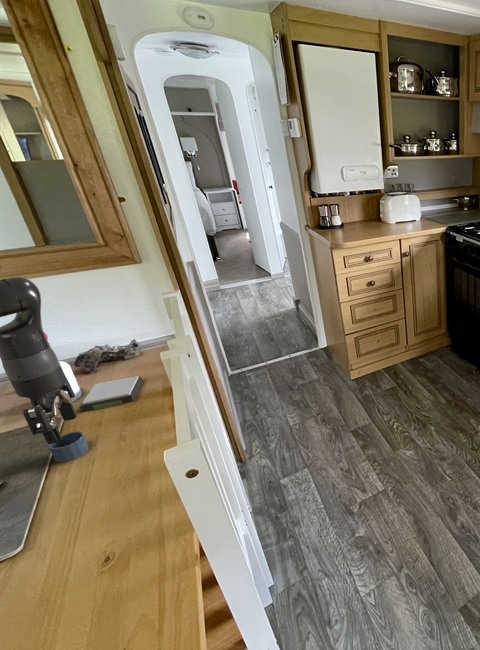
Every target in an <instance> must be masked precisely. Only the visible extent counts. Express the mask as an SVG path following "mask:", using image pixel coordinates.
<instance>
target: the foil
mask: <svg viewBox="0 0 480 650" xmlns="http://www.w3.org/2000/svg"><path fill="white" fill-rule="evenodd" d="M140 345H141V344H140V342H138V341H137V340H136V339H135V338H133V339H132V340H131V341H130V343H129V344H128V345H125V346H124V345H119V344H114V345H113V346H110V345H109V344H108V343H107V342H106V343H105V344H104V345H95V346H94V347H93V348H89V349H87V350H86V351H83V352H79V353H78V355H77V356H76V358H75V361H74V363H73V364H74V368H84V369H85V371H84V373H85V374H86V372H90V374H94V373H96V368H97V366H98V365H99V362H101V361H103V362H104V361H105V362H107V361H109V360H112V359H115V358H117V357H118V355H120V354H123V356H124V357H123V358H124V360H128V359H134V358H137V357H140V356H141V347H140Z"/></svg>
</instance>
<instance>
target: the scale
mask: <svg viewBox="0 0 480 650" xmlns="http://www.w3.org/2000/svg"><path fill="white" fill-rule="evenodd" d="M143 381H144V380H143V377H142V376H137V375H136V376H131V377H125V378H119V379H115V380H109V381H104V382H99V383H95V384H94V385H92V388H91V389H90V390H89V392H88V394H87V395H86V397H85V398H84V399H83V400H82V403H81V404H80V406H79V408H80V410H81V412H87V411H91V410H98V409H99V410H100V409H103V408H108V407H109V408H110V407H113V406H118V405H123V404H126V403H131V402H133V401H135V399H136V396H137V394H138V392H139V390H140V388H141V386H142V384H143Z"/></svg>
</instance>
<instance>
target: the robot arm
mask: <svg viewBox="0 0 480 650" xmlns="http://www.w3.org/2000/svg"><path fill="white" fill-rule="evenodd" d="M1 268H2V264H1V263H0V270H1ZM41 295H42V294H41V292H40V290H39V288H38V286H37V285H36V284H35V283H34V282H33V281H32V280H30V279H28V278H26V277H23V276H11V277H7V278H1V279H0V318H3V317H7V316H11V315H14V314H15V316H14V319H12V320H11V321H8V323H5V324H3V325H1V326H0V360H1V364H2V368H3V370H4V372H5V374H6V376H7V378H8V380H9V381H10V384H11V386H12V388H13V390H14V392H15V393H16V395H17V396H18V397H20V398H25V399H29V400H30V405H31V407H30V408H26V409H23V410H22V414H23V417H24V418H25V421H26V423H27V425H28V427H29V429H30V431H31V434H32V435H34V436H35V435H38V434H39V435H40V434H42V436H43V437H44V440H45V441H46V443H47V444H48V445H49V444H53V443H57V442H60V441H61V440H62V434H61V432H60V430H59V428H58V426H57V422H56V419H57V418H58V416H59V415H60V416H61V418H62V420H63V421H66V422H67V421H72V420H76V418H77V417H78V415H77V411H76V410H75V408H74V406H73V403H74V401H73V400H72V399H71V398H74V397H75V394H74V392H73V390H72V388H71V386H70V384H69V382H68V380H67V378H66V376H65V374H64V372H63V370H62V367H61V365H60V363H59V361H60V360H59V358H58V356H57V354H56V352H55V351H54V349H53V348H52V347H51V344H50V345H49V343H50V342H49V339H48V340H47V338H46V336H45V334H44V332H45V331H44V329H43V324H42V323H43V322H42V296H41ZM65 391H67V392H68V394H66V393H65ZM59 413H60V414H59Z"/></svg>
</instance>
